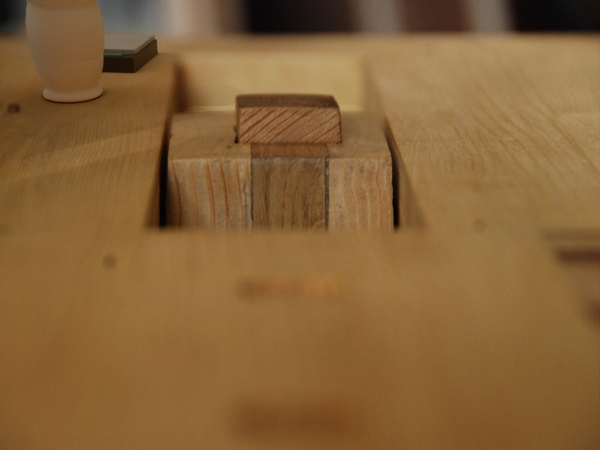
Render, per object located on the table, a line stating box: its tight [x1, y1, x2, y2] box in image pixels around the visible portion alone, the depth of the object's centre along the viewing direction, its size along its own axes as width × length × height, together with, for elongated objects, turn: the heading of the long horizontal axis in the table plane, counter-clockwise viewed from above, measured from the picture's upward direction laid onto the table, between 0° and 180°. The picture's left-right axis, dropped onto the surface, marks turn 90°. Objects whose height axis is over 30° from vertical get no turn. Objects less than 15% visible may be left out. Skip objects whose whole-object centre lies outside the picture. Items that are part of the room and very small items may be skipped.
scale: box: [102, 33, 159, 74], centre depth 136 cm, size 10×14×3 cm
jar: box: [25, 0, 105, 103], centre depth 114 cm, size 11×10×15 cm
